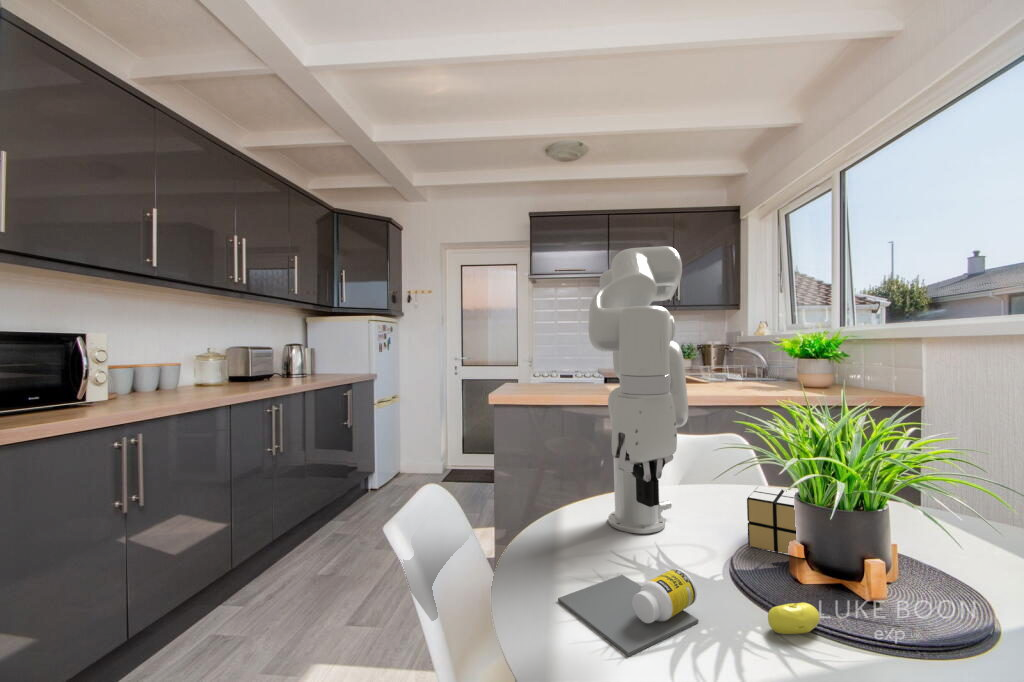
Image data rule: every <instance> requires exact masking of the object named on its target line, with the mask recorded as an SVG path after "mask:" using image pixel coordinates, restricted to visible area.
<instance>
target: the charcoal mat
mask: <svg viewBox="0 0 1024 682" xmlns="http://www.w3.org/2000/svg"><path fill="white" fill-rule="evenodd" d="M642 586H643V585H640V584H639V583H637V582H636V581H634V580H632V579H631V578H629V577H628V576H626V575H624V574H620V575H618V576H615V577H613V578H609V579H606V580H603V581H600V582H598V583H595V584H593V585H590V586H587V587H585V588H582V589H579V590H577V591H574V592H570V593H568V594H565V595H562V596H560V597H557V601H558V602H559V603H560V604H561V605H563V606H564V607H565V608H566V609H568V610H569V611H570V612H571V613H572V614H574V615H575V616H577V617H578V618H579V619H580V620H582V621H583V622H584V623H586V624H587V625H588V626H589V627H591V629H593V630H594V631H596V633H598V634H599V635H601V636H602V637H603V638H605V639H606V640H607V641H609V642H610V643H611V644H613V646H615V647H616V648H617V649H618V650H619V651H621V652H622V653H624V654H625V655H626V656H627V657H630V656H632V655H635V654H636V653H639V652H640V651H643V650H645V649H646V648H649V647H651V646H653V645H655V644H657V643H660V642H662V641H664V640H665V639H667V637H668V638H670V637H672V636H675V634H676V635H677V634H678V633H680V632H683V630H686V629H688V628H690V627H692V626H695V625H697V624H698V623H699V618H697V617H695V616H694V615H692V614H690V613H689V612H686V611H685V610H682V611H681V612H679V613H678V614H676V615H674V616H673V617H671V618H670V619H668V620H666V621H656V620H655V621H654V622H652V623H645V622H643V621H642V620H640V619H639V618H638V616H637V615H636V613H635V611H634V609H633V604H632V601H633V597H634V596H635V595H636V594H637V593H639V592H640V590H641V588H642ZM669 636H670V637H669Z"/></svg>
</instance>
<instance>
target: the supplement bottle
mask: <svg viewBox="0 0 1024 682" xmlns="http://www.w3.org/2000/svg"><path fill="white" fill-rule="evenodd" d="M641 586H642V588H641V590H640V592H639V593H637V594H636V595H635V596H634V597H633V601H632V604H633V609H634V611H635V613H636V615H637V616H638V618H639V619H640V620H642V621H643V622H645V623H652V622H654V621H655V620H656V621H666V620H668V619H670V618H671V617H673V616H674V615H676V614H678V613H679V612H681V611H682V610H683V611H685V609H688V607H690V606H692V605H693V604H694V603H695V602H696V600H697V594H698V593H697V587H696V585H695V582H694V580H693V579H692V577H691V576H690V575H689V574H688V573H687V572H685V571H683V570H682V569H679V568H673V569H670V570H667V571H666V572H664V573H662V574H660V575H658V576H656V577H654V578H652V579H650V580H649V581H646V582H645V583H644V584H643V585H641Z"/></svg>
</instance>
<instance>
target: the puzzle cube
mask: <svg viewBox="0 0 1024 682" xmlns="http://www.w3.org/2000/svg"><path fill="white" fill-rule="evenodd" d="M786 490H787V492H786ZM795 492H797V491H796V490H789V489H785V490H784V489H782V488H777V487H770V486H764V485H758V486H756V487H755V489H754V490H753V491H752V492H751V493H750V495H749V496H748V497H747V498H746V506H747V507H746V509H747V510H746V511H747V512H746V513H747V515H746V516H747V521H748V522H747V542H748V547H750V546H751V547H750V548H753V547H755V548H754V549H757V548H760V549H759V550H761V549H764V550H763V551H766V550H770V551H776V553H777V552H782V553H788V546H789V542H790V541H793V540H796V527H795V510H794V495H795ZM770 551H769V552H770Z"/></svg>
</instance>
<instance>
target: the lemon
mask: <svg viewBox="0 0 1024 682" xmlns="http://www.w3.org/2000/svg"><path fill="white" fill-rule="evenodd" d="M820 617H821V616H820V612H819V611H818V609H817V608H816V607H815V606H814V605H812V604H810V603H808V602H797V603H796V602H794V603H793V602H792V603H784V604H781V605H777V606H774V607H773V606H772V608H770V609H769V611H768V614H767V620H768V625H769V627H770V628H771V630H773V631H774V632H775V633H778V634H780V635H799V634H807V633H810V632H812V631H813V629H815V628H816V627H817V626H818V624H819V623H820V621H821V619H820Z"/></svg>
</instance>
